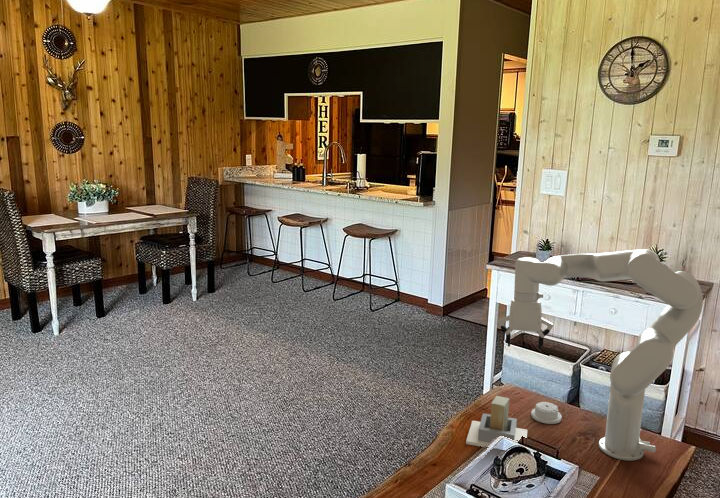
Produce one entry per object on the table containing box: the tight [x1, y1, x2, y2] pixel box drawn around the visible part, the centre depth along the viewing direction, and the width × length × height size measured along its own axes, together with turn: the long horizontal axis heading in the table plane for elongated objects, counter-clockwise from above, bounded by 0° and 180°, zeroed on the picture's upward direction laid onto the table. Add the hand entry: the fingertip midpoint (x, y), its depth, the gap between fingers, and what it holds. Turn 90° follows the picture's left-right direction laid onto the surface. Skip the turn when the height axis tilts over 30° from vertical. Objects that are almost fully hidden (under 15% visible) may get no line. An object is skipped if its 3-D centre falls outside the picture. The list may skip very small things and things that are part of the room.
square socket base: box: [465, 412, 528, 448], centre depth 180 cm, size 18×14×5 cm
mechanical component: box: [531, 401, 562, 425], centre depth 194 cm, size 10×4×10 cm
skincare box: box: [490, 395, 510, 431], centre depth 179 cm, size 6×4×12 cm
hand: (524, 346), depth 183 cm, fingers open, 9 cm apart
